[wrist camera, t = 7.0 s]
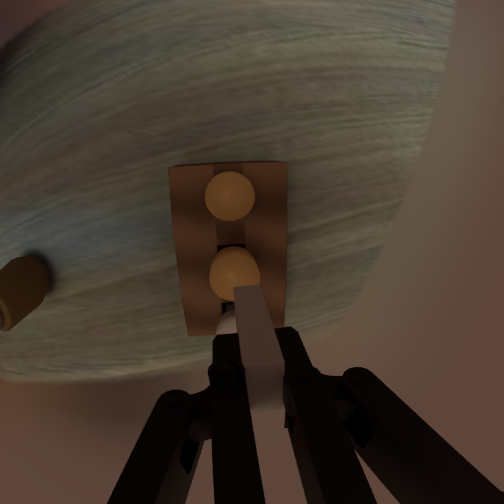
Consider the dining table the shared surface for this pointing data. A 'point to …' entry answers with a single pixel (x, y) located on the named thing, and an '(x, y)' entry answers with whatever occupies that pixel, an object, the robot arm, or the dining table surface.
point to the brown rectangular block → (228, 237)
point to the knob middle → (232, 270)
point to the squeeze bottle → (21, 289)
